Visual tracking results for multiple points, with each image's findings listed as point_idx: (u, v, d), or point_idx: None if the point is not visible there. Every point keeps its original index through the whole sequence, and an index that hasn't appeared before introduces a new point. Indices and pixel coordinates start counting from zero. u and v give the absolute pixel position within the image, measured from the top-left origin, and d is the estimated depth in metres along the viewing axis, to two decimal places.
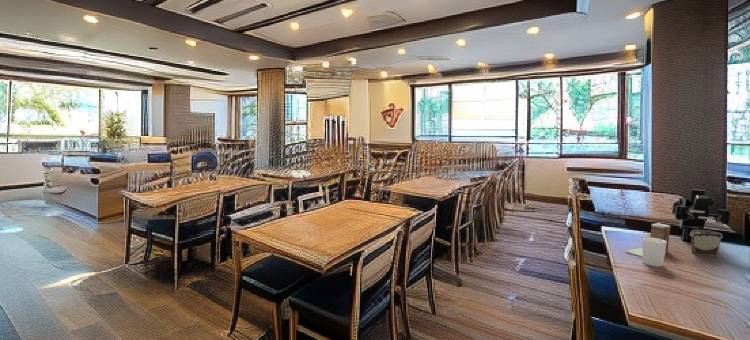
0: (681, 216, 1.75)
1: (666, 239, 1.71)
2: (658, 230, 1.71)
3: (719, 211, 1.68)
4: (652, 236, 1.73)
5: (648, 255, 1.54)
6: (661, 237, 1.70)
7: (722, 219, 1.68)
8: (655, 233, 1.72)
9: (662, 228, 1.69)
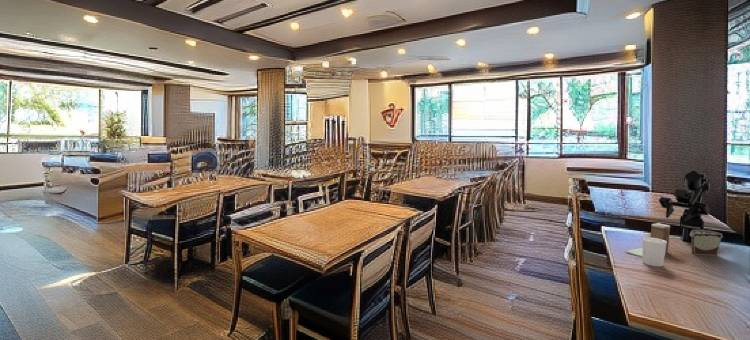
0: None
1: (666, 239, 1.71)
2: (658, 230, 1.71)
3: (690, 207, 1.73)
4: (652, 236, 1.73)
5: (648, 255, 1.54)
6: (661, 237, 1.70)
7: (696, 212, 1.73)
8: (655, 233, 1.72)
9: (662, 228, 1.69)
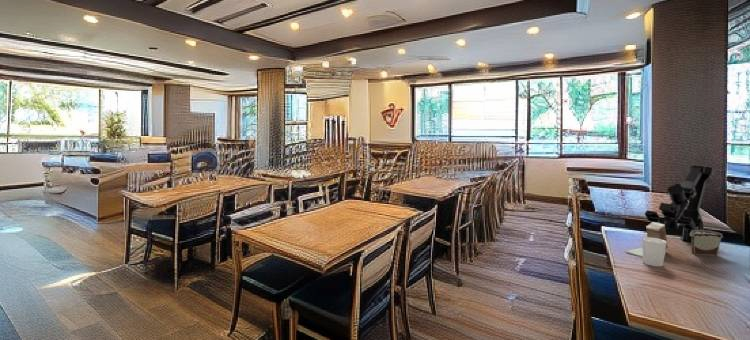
0: None
1: (663, 238, 1.70)
2: (653, 232, 1.69)
3: (668, 220, 1.72)
4: None
5: (648, 255, 1.54)
6: None
7: (674, 225, 1.72)
8: (651, 235, 1.71)
9: (657, 230, 1.68)
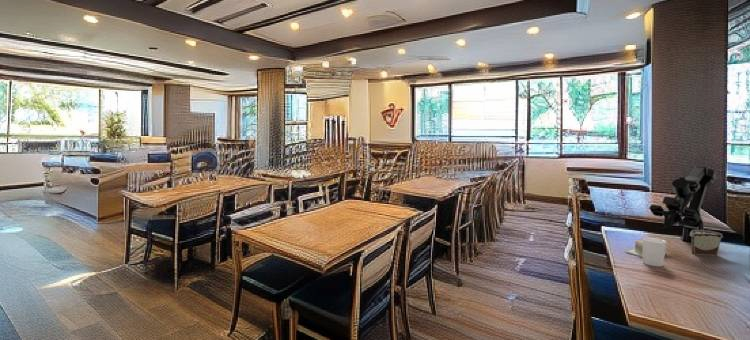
0: None
1: None
2: None
3: (672, 213, 1.73)
4: None
5: (648, 255, 1.54)
6: None
7: (678, 218, 1.73)
8: None
9: None
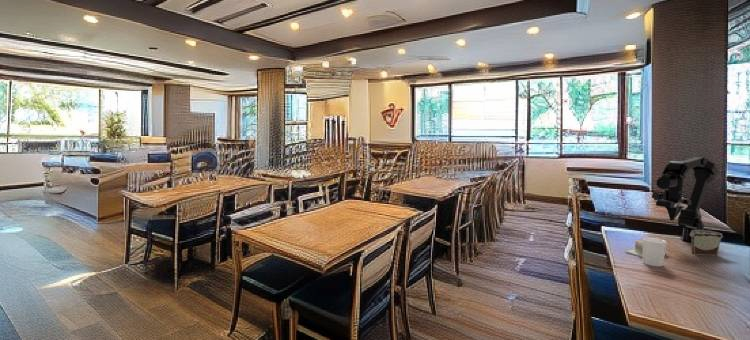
0: None
1: None
2: None
3: None
4: None
5: (648, 255, 1.54)
6: None
7: (672, 207, 1.78)
8: None
9: None
